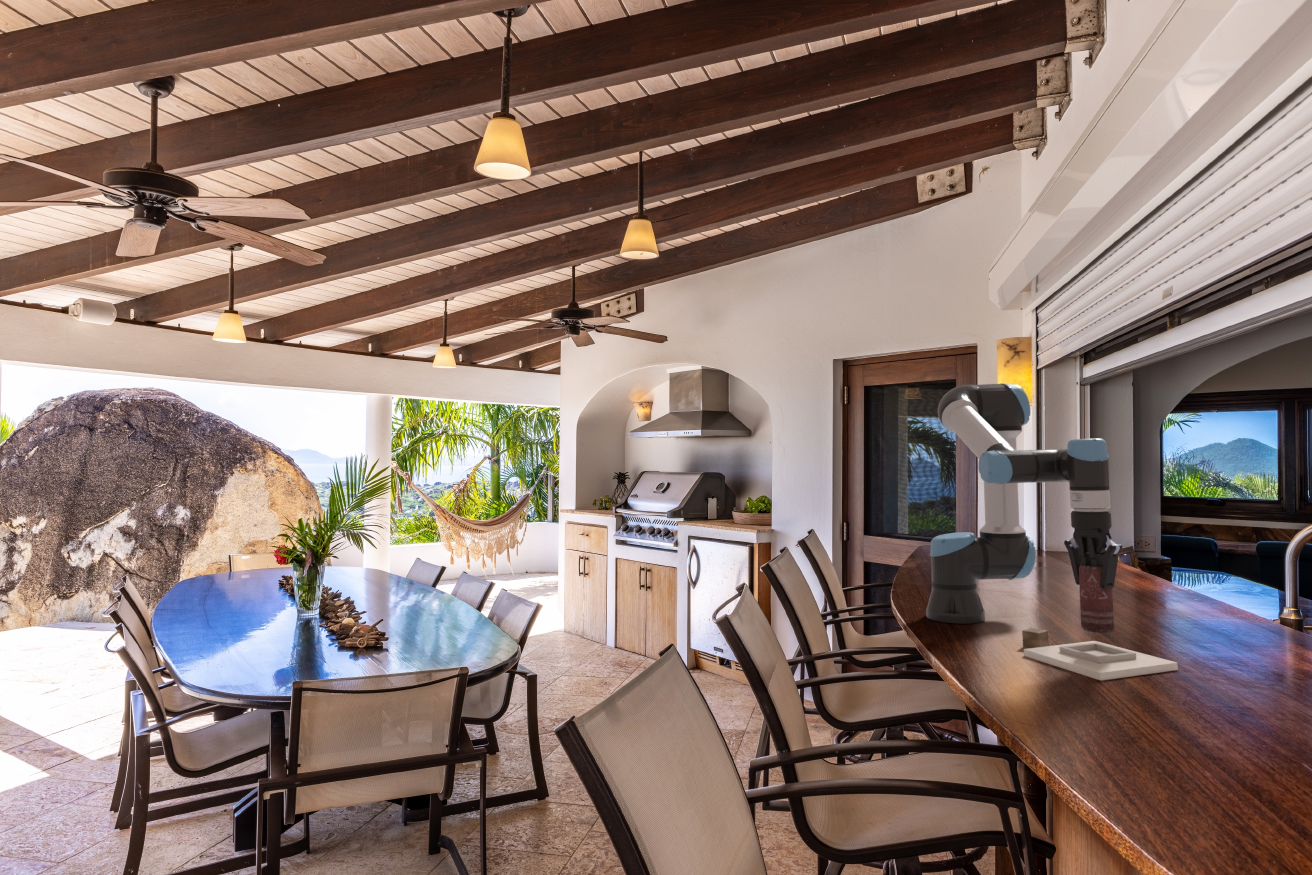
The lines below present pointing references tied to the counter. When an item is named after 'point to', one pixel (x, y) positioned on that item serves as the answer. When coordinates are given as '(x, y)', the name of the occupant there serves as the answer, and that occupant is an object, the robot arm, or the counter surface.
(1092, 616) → the can
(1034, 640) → the walnut block
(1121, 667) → the board
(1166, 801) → the counter surface
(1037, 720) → the counter surface
